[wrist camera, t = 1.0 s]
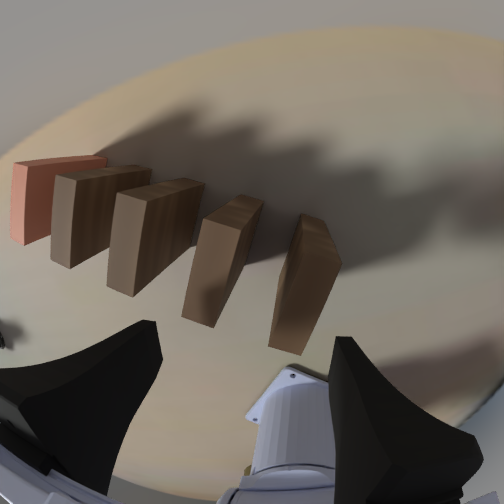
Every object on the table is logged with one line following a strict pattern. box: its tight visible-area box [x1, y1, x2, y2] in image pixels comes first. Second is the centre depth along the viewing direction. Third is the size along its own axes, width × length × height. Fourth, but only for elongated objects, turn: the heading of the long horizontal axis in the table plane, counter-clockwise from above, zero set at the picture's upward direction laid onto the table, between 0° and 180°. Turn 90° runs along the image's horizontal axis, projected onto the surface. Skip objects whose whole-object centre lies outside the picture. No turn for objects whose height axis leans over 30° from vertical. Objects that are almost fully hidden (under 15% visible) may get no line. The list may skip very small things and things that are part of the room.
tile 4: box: [51, 165, 152, 269], centre depth 17 cm, size 2×5×8 cm, turn 164°
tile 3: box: [107, 178, 205, 297], centre depth 17 cm, size 2×5×8 cm, turn 164°
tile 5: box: [10, 155, 107, 246], centre depth 17 cm, size 2×5×8 cm, turn 164°
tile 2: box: [181, 194, 264, 328], centre depth 17 cm, size 2×5×8 cm, turn 164°
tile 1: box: [268, 213, 342, 356], centre depth 16 cm, size 2×5×8 cm, turn 163°
